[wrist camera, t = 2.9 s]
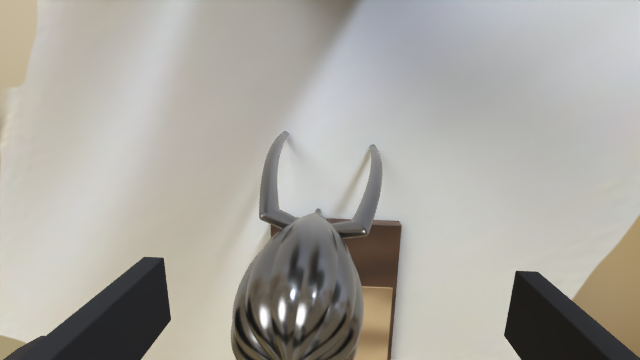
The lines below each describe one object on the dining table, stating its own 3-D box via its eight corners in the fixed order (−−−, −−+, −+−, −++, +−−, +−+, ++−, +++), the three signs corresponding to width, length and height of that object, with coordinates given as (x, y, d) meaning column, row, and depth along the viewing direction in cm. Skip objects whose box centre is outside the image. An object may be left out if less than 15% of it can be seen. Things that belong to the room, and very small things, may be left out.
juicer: (316, 214, 40) (261, 525, 11) (281, 132, 37) (89, 242, 8) (390, 188, 38) (557, 462, 9) (359, 100, 36) (453, 102, 7)
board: (272, 216, 40) (270, 221, 38) (399, 220, 39) (401, 226, 38) (276, 359, 46) (274, 369, 44) (387, 365, 45) (389, 375, 43)
